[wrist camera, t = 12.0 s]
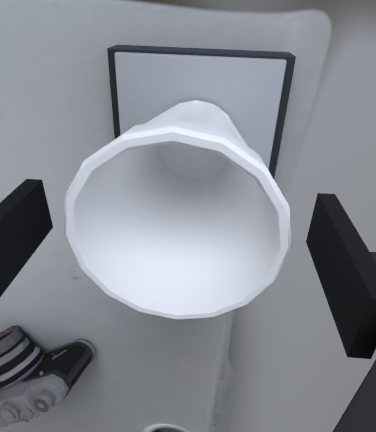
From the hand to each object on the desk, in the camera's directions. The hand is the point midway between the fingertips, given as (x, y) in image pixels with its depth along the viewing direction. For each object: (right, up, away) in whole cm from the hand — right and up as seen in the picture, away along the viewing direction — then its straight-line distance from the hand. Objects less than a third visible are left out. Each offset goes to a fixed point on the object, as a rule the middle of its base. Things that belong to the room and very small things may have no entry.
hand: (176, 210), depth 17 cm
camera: (-20, -17, +29) cm, 39 cm away
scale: (+1, +7, +12) cm, 14 cm away
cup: (+1, +5, +10) cm, 11 cm away
